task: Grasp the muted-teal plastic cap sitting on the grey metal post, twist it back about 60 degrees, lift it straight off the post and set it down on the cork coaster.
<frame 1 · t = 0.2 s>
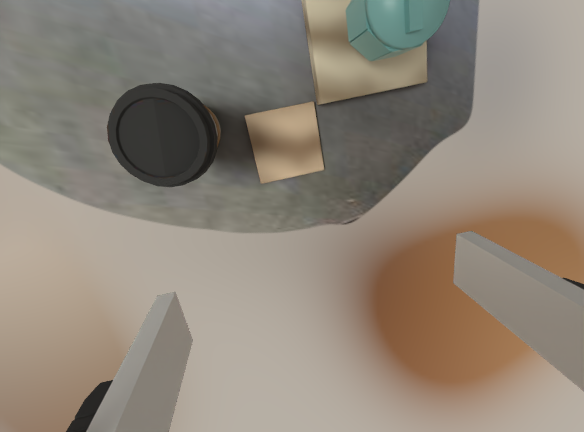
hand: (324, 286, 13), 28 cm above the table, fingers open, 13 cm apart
coffee cup: (195, 130, 36), on the table
post base: (363, 33, 34), on the table
coaster: (285, 143, 37), on the table
cap: (380, 20, 30), point 5 cm above the table, touching post base
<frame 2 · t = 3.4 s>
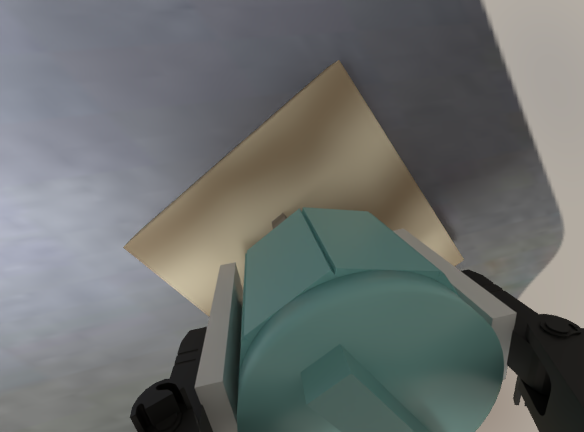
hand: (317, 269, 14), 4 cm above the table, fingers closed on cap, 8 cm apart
post base: (304, 239, 18), on the table
cap: (323, 283, 13), point 5 cm above the table, touching gripper, post base
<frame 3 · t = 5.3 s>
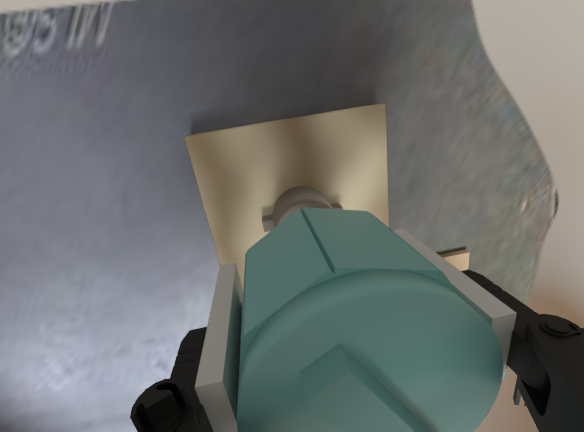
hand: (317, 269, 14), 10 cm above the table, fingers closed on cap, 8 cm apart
post base: (297, 206, 23), on the table
coaster: (420, 296, 28), on the table
cap: (323, 283, 13), point 11 cm above the table, touching gripper
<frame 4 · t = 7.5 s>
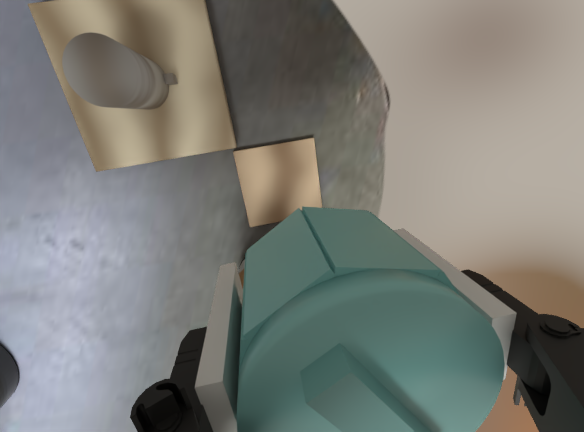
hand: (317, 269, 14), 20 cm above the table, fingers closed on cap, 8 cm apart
post base: (151, 86, 28), on the table
coaster: (280, 183, 33), on the table
cap: (323, 283, 13), point 21 cm above the table, touching gripper
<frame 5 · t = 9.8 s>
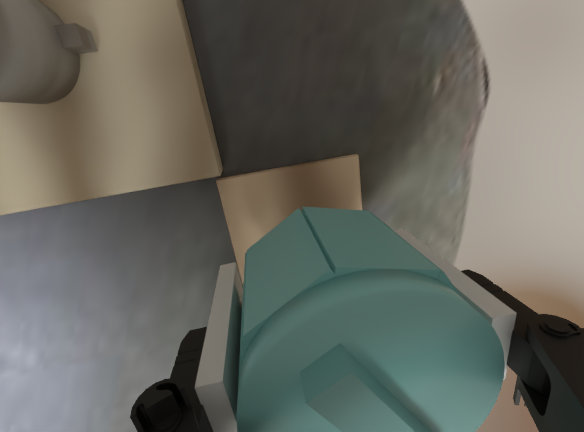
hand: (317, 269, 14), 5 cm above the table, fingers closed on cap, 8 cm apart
post base: (54, 59, 14), on the table
coaster: (297, 229, 19), on the table
cap: (323, 283, 13), point 7 cm above the table, touching gripper
when the fingers open (2 cm above the table, at t = 11.5 s): cap drops 3 cm, resting on coaster.
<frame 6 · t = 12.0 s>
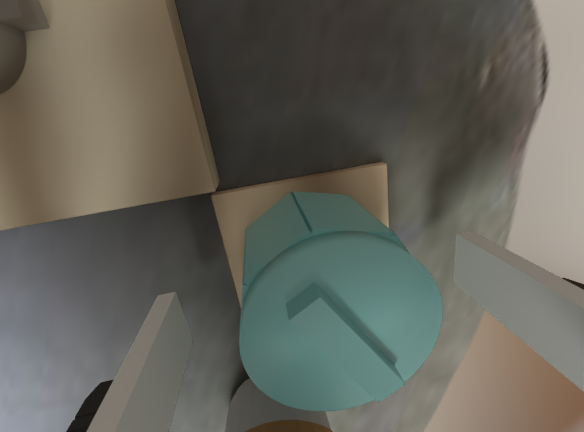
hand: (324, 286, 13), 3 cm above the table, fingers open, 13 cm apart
coffee cup: (274, 397, 20), on the table
post base: (0, 41, 11), on the table
coaster: (310, 252, 16), on the table
cap: (311, 257, 15), point 1 cm above the table, touching coaster
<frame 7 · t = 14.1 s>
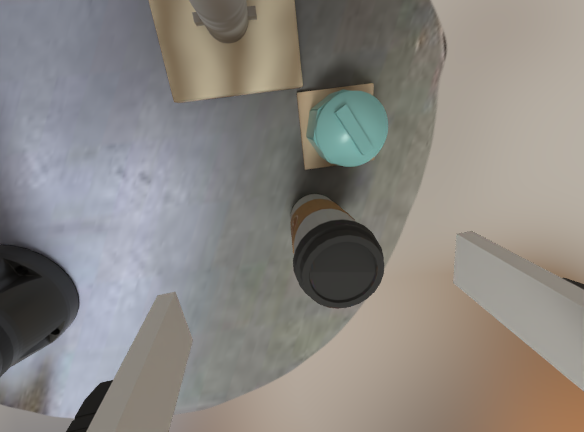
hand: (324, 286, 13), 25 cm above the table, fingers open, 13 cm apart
coffee cup: (312, 214, 38), on the table
post base: (228, 24, 30), on the table
coaster: (336, 127, 34), on the table
cap: (337, 127, 34), point 1 cm above the table, touching coaster
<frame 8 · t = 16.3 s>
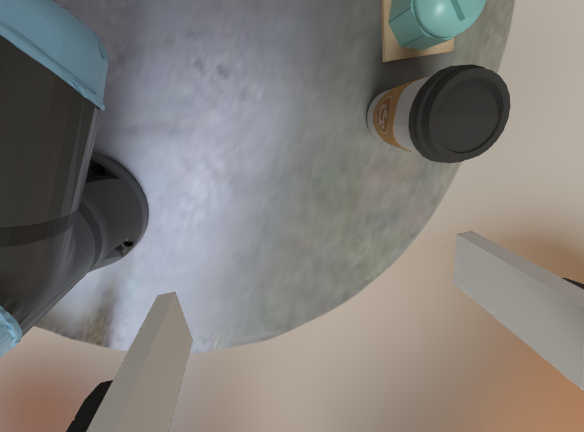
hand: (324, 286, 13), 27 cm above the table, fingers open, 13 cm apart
coffee cup: (387, 116, 37), on the table
coaster: (417, 15, 34), on the table
cap: (419, 13, 33), point 1 cm above the table, touching coaster
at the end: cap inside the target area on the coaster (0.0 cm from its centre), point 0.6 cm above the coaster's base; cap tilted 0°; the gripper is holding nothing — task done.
